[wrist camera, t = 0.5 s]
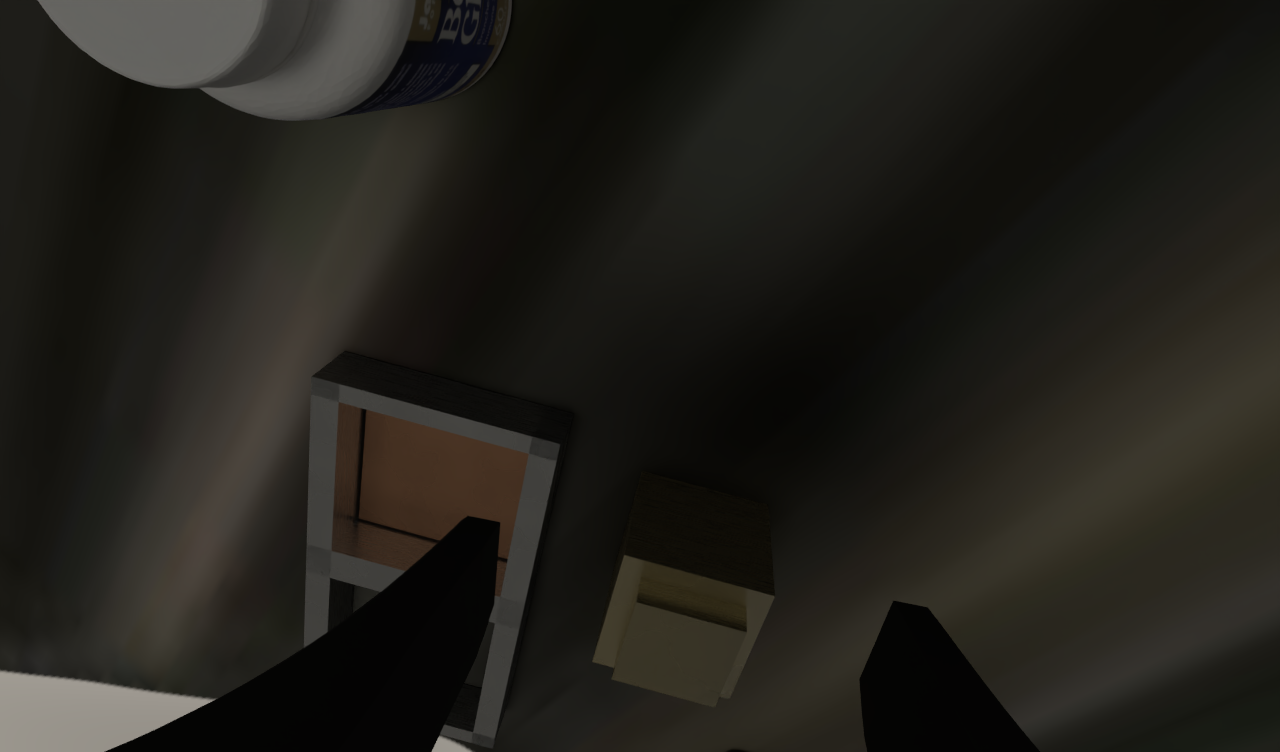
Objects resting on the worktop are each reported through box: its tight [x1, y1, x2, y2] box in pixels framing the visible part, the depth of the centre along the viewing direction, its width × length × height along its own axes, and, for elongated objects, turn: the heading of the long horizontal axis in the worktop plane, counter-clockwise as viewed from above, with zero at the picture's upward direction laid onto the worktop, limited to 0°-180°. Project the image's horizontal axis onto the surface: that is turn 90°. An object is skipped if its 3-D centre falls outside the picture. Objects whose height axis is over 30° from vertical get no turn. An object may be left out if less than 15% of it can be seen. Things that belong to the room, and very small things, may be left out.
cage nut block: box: [592, 471, 775, 708], centre depth 22 cm, size 4×4×6 cm
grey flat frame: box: [304, 351, 573, 749], centre depth 26 cm, size 15×8×2 cm, turn 166°
